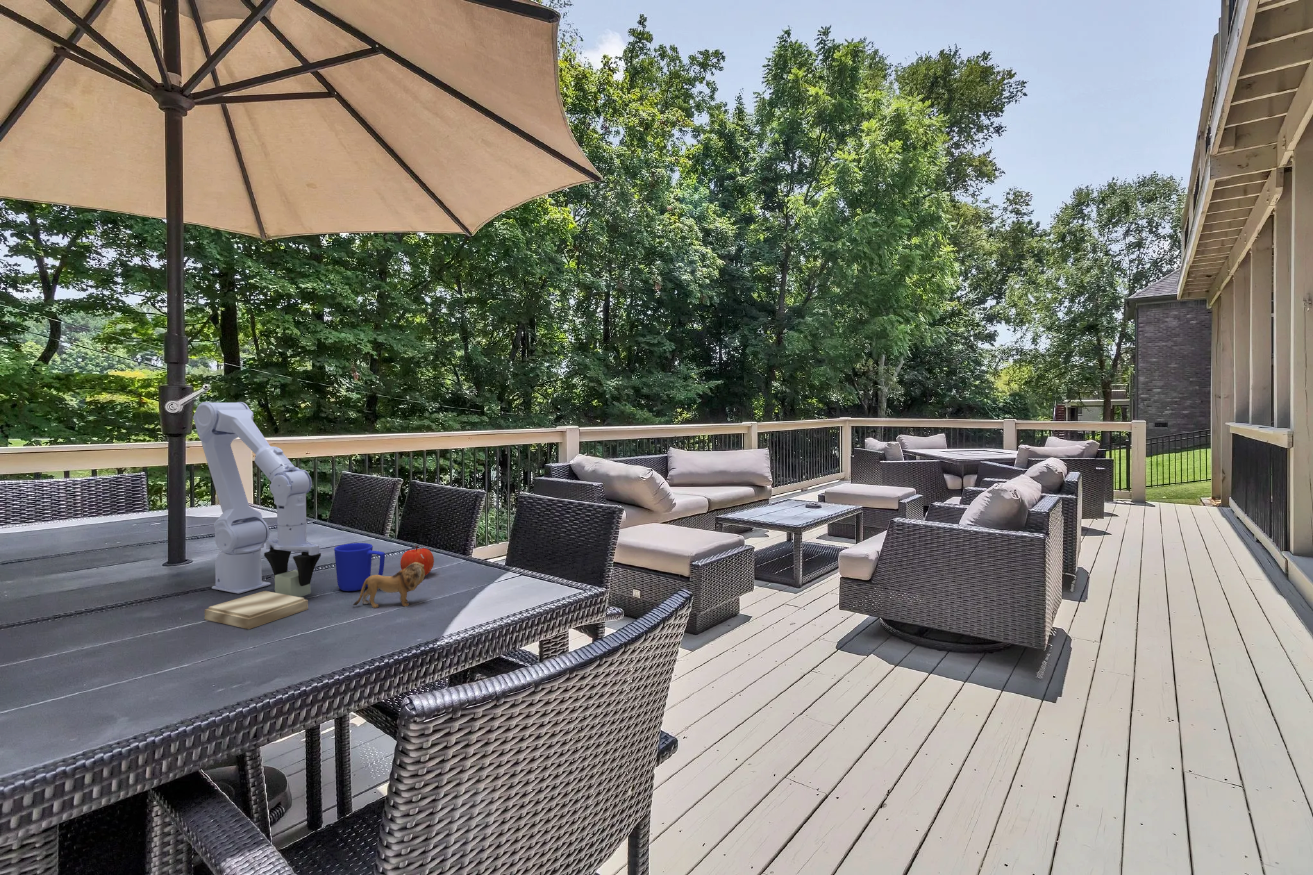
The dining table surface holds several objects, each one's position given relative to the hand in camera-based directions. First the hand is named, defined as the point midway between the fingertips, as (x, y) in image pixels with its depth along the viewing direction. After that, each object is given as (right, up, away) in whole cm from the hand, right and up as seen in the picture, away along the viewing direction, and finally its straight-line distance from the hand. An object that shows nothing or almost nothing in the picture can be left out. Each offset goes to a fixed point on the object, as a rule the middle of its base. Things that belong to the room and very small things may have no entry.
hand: (293, 582), depth 144 cm
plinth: (0, -4, -13) cm, 13 cm away
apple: (+22, -3, +17) cm, 28 cm away
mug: (+13, -3, +6) cm, 14 cm away
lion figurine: (+25, -4, -4) cm, 25 cm away
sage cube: (0, -3, 0) cm, 3 cm away
